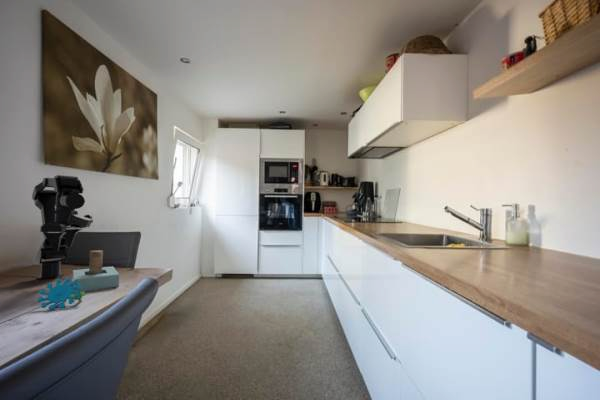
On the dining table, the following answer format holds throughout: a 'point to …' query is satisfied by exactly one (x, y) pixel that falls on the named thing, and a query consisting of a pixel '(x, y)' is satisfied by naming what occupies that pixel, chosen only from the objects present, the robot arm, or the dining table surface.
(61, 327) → the dining table surface
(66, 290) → the gear
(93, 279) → the housing
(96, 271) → the peg
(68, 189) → the robot arm
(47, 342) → the dining table surface
